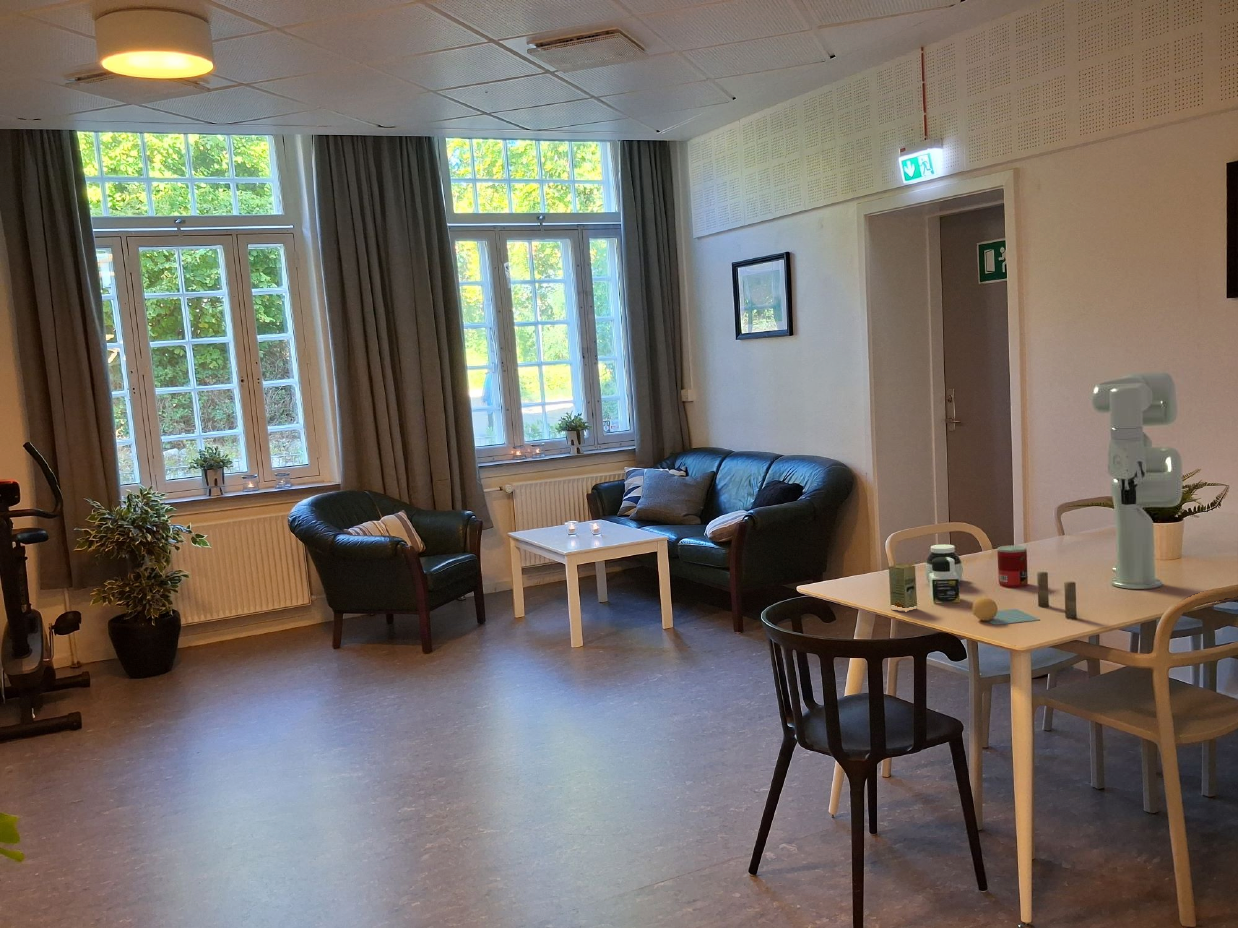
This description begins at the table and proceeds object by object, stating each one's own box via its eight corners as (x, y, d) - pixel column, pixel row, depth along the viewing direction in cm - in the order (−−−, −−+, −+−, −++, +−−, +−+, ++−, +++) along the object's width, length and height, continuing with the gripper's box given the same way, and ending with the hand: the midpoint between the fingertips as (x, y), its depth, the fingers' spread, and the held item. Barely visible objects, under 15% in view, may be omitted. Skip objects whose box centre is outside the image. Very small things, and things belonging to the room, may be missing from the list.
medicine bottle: (933, 603, 282) (931, 561, 281) (930, 597, 289) (928, 556, 288) (960, 602, 280) (958, 560, 279) (956, 596, 287) (954, 555, 286)
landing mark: (973, 614, 268) (972, 613, 268) (1016, 609, 269) (1016, 608, 269) (995, 625, 256) (995, 624, 256) (1040, 620, 257) (1040, 619, 257)
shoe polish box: (890, 609, 278) (888, 566, 277) (902, 606, 281) (900, 563, 280) (905, 612, 275) (903, 568, 273) (917, 608, 278) (915, 565, 276)
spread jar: (930, 589, 299) (929, 550, 298) (920, 580, 310) (918, 543, 309) (972, 586, 298) (970, 547, 297) (960, 578, 310) (958, 540, 309)
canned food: (1027, 588, 291) (1025, 550, 290) (997, 587, 294) (996, 550, 293) (1028, 582, 298) (1027, 545, 297) (999, 581, 301) (998, 545, 300)
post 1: (1036, 605, 272) (1035, 572, 271) (1045, 604, 272) (1044, 571, 271) (1041, 607, 269) (1040, 574, 268) (1050, 606, 269) (1049, 573, 268)
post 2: (1063, 616, 259) (1062, 582, 258) (1073, 615, 259) (1071, 581, 258) (1069, 619, 256) (1067, 584, 255) (1078, 618, 256) (1077, 583, 256)
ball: (963, 608, 263) (978, 590, 263) (980, 622, 264) (994, 604, 264) (974, 612, 257) (990, 594, 257) (991, 627, 258) (1006, 609, 258)
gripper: (1096, 433, 270) (1098, 501, 272) (1130, 438, 255) (1132, 509, 258) (1123, 430, 271) (1125, 498, 273) (1158, 435, 256) (1160, 506, 258)
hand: (1128, 503), depth 265 cm, fingers closed
